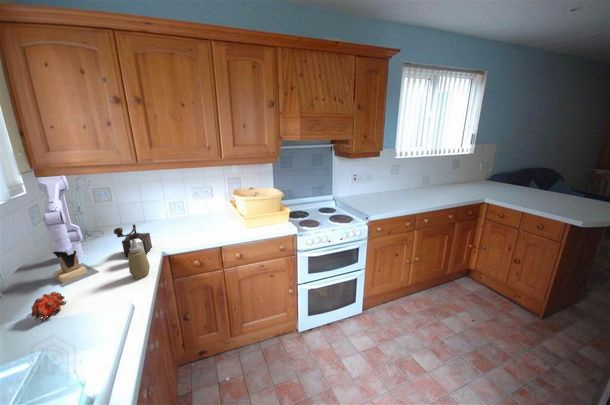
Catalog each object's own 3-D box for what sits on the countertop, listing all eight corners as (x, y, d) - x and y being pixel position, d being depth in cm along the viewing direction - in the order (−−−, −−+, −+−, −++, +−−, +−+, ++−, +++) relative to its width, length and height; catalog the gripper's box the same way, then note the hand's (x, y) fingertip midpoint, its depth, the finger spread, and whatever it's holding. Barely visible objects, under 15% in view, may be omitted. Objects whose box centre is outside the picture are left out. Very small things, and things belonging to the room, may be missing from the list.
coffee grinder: (131, 249, 147) (125, 219, 142) (152, 247, 149) (147, 217, 144) (118, 262, 132) (110, 229, 127) (142, 260, 135) (135, 228, 130)
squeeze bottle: (138, 271, 124) (130, 236, 119) (155, 271, 124) (148, 236, 119) (126, 280, 116) (118, 243, 111) (144, 280, 116) (136, 243, 111)
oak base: (54, 277, 118) (53, 272, 118) (78, 268, 126) (77, 263, 125) (63, 283, 114) (61, 277, 113) (87, 273, 122) (86, 267, 121)
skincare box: (147, 262, 132) (143, 241, 128) (137, 266, 129) (132, 243, 125) (143, 258, 136) (139, 237, 132) (134, 262, 133) (129, 240, 129)
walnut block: (61, 269, 118) (58, 257, 117) (75, 265, 123) (72, 253, 121) (66, 272, 116) (63, 260, 115) (79, 267, 120) (77, 255, 119)
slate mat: (46, 277, 120) (45, 276, 120) (82, 264, 132) (82, 262, 131) (62, 288, 111) (62, 287, 111) (100, 273, 123) (99, 271, 123)
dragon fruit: (65, 305, 103) (47, 331, 92) (38, 299, 99) (17, 325, 88) (74, 290, 101) (57, 313, 91) (48, 283, 97) (27, 307, 87)
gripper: (41, 238, 115) (50, 265, 119) (55, 244, 108) (64, 273, 112) (62, 232, 121) (69, 258, 124) (76, 238, 114) (83, 266, 118)
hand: (68, 265), depth 118 cm, fingers closed on walnut block, 5 cm apart
